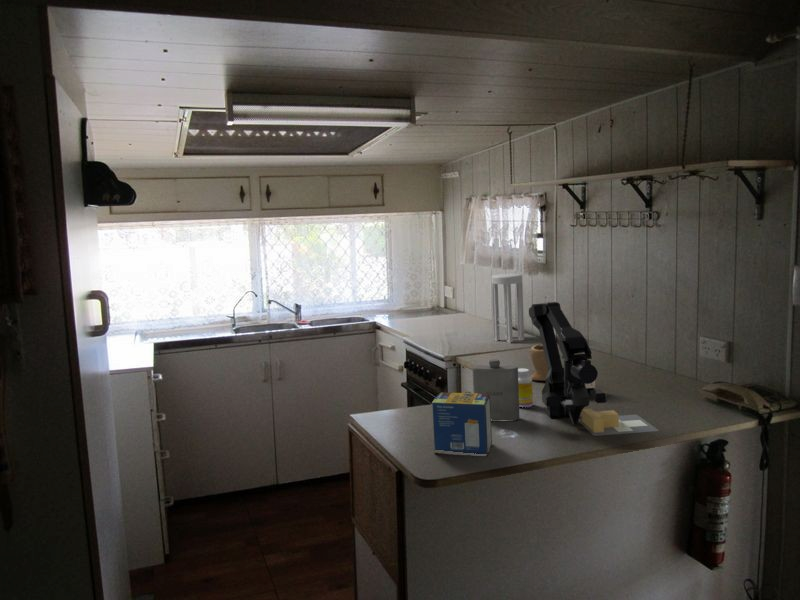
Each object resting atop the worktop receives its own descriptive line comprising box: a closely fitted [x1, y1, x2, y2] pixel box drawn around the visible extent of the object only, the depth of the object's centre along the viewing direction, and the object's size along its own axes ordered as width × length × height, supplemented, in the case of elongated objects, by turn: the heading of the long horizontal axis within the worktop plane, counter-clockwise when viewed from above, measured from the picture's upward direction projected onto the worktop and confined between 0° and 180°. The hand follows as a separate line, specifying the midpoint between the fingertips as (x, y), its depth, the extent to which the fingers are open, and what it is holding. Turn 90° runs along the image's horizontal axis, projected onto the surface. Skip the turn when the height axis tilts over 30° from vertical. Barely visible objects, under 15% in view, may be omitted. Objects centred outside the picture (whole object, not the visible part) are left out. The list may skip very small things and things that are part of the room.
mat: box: [578, 414, 660, 437], centre depth 197 cm, size 20×16×1 cm
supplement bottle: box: [518, 368, 534, 409], centre depth 221 cm, size 7×7×13 cm
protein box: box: [431, 392, 493, 454], centre depth 183 cm, size 10×15×16 cm
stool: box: [490, 273, 525, 344], centre depth 334 cm, size 16×16×35 cm
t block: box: [581, 408, 620, 433], centre depth 196 cm, size 9×11×4 cm
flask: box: [471, 358, 520, 421], centre depth 209 cm, size 15×6×20 cm, turn 74°
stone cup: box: [529, 343, 548, 382], centre depth 252 cm, size 15×12×15 cm
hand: (574, 424), depth 196 cm, fingers closed
